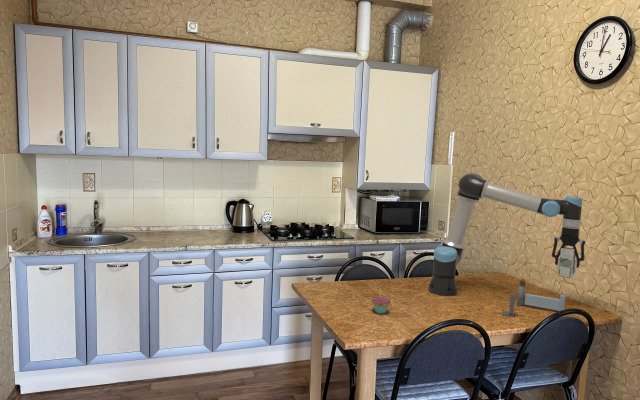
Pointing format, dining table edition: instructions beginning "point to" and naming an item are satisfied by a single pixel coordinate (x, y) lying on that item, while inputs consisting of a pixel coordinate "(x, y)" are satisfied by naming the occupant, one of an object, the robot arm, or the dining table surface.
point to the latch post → (511, 310)
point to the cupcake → (380, 303)
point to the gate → (540, 300)
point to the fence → (522, 283)
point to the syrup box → (567, 262)
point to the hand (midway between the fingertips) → (566, 272)
